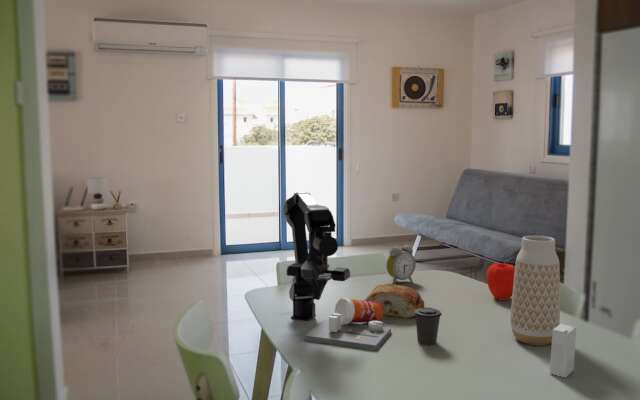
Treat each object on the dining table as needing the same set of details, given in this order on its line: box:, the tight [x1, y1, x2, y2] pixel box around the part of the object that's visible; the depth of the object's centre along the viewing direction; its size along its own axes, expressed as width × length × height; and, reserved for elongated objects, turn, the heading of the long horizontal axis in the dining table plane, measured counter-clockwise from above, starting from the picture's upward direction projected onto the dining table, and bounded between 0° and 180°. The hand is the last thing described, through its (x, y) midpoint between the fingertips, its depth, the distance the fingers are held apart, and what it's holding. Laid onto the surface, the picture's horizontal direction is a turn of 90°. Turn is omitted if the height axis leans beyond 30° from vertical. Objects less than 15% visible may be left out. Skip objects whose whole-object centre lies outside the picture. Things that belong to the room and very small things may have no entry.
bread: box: [363, 283, 425, 319], centre depth 211 cm, size 20×18×10 cm
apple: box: [486, 262, 515, 301], centre depth 224 cm, size 12×12×13 cm
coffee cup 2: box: [414, 307, 442, 347], centre depth 180 cm, size 8×8×10 cm
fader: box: [328, 312, 341, 332], centre depth 185 cm, size 2×4×5 cm, turn 158°
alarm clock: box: [386, 244, 416, 285], centre depth 248 cm, size 12×7×15 cm, turn 123°
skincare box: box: [549, 323, 577, 379], centre depth 158 cm, size 6×4×12 cm
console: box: [304, 319, 392, 351], centre depth 185 cm, size 22×16×4 cm
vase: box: [510, 235, 561, 346], centre depth 181 cm, size 14×14×31 cm
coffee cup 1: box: [334, 296, 384, 324], centre depth 195 cm, size 8×8×15 cm
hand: (318, 299), depth 187 cm, fingers closed
